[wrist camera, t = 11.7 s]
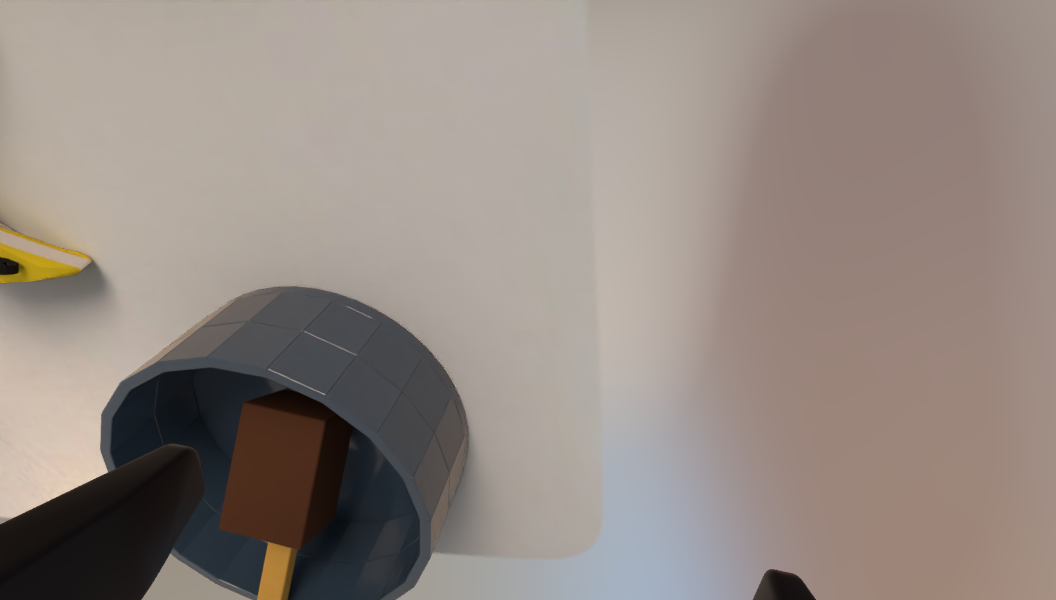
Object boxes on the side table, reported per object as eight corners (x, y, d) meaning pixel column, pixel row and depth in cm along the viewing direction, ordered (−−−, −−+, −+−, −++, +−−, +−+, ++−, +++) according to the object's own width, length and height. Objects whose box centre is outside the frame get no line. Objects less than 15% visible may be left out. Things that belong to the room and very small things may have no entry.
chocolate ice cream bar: (357, 405, 24) (325, 421, 21) (316, 611, 24) (279, 656, 21) (283, 388, 24) (241, 401, 21) (243, 592, 24) (196, 633, 21)
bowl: (475, 315, 21) (432, 399, 17) (463, 539, 28) (429, 643, 23) (167, 262, 23) (54, 328, 18) (220, 487, 29) (145, 576, 25)
